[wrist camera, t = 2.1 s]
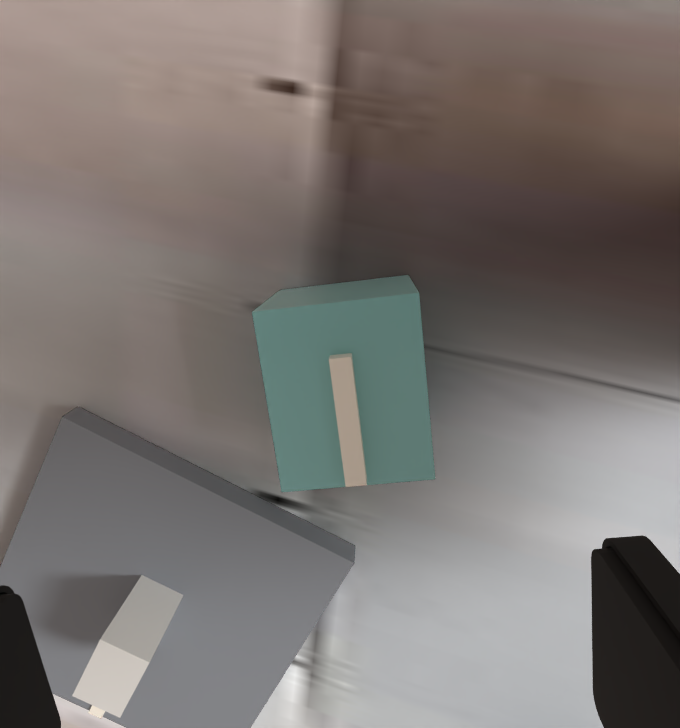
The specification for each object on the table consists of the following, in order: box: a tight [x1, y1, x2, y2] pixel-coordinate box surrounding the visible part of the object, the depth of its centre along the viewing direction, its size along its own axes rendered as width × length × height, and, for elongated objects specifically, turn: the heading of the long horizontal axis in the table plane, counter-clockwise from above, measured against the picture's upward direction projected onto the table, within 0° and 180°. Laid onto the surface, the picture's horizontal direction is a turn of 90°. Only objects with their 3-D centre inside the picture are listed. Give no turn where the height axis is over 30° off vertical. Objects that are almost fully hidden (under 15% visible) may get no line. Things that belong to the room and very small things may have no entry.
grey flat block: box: [0, 407, 355, 728], centre depth 28 cm, size 16×16×6 cm
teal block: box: [252, 275, 435, 492], centre depth 23 cm, size 7×6×7 cm
